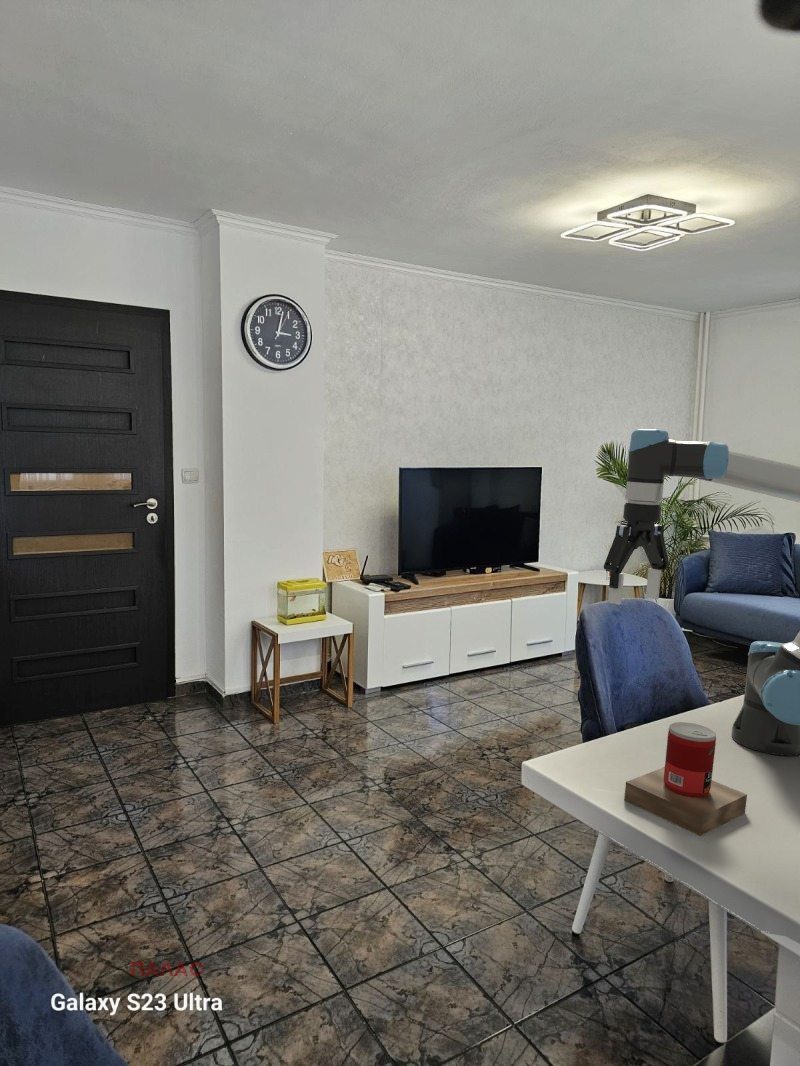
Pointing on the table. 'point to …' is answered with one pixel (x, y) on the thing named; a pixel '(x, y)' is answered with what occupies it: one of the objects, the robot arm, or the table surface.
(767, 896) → the table surface
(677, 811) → the walnut stand
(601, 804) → the table surface
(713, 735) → the canned food
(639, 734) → the table surface
